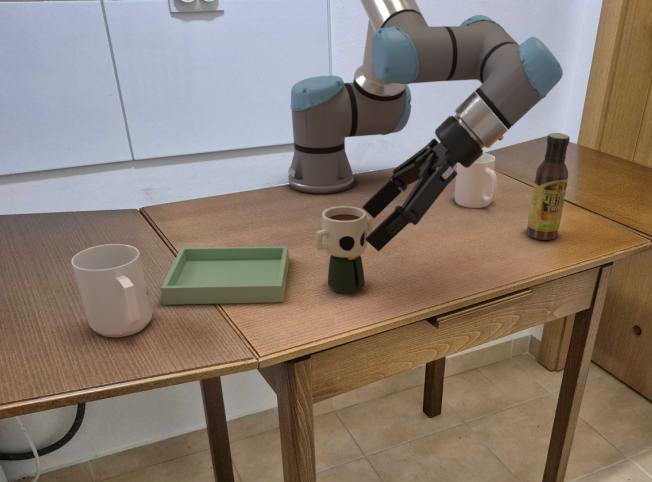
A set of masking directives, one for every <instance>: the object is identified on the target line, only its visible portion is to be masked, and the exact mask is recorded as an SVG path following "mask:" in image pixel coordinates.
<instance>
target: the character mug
mask: <svg viewBox="0 0 652 482" xmlns="http://www.w3.org/2000/svg"><path fill="white" fill-rule="evenodd" d="M321 223H322V224H321V225H322V229H320V230H317V231H316V232H315V235H314V236H315V248H316V250H317V251H318V252H319V251H324V252H325V253H327V255H330V256H329V262H328V272H327V285H328V286H329V287H330V288H331V290H332V289H333V290H334V291H335V292H340V293H353V292H356V286H358V289H359V290H362V289H363V288H364V287H365V283H366V280H365V272H364V266H363V259H362V256H361V255H363V254H364V253H365V251H366V250H367V249H368V248H367V247H368V244H369V243H368V242H367V241H366V237H367V236H368V235H369V234H370V233H371V232H372V231H373V219H372V216H368V217H367V212H366V211H365V210H364V209H363V208H360V207H356V206H351V205H338V206H332V207H329V208H326V209H324V210H323V211H322V213H321Z"/></svg>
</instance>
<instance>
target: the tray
mask: <svg viewBox="0 0 652 482" xmlns="http://www.w3.org/2000/svg"><path fill="white" fill-rule="evenodd" d="M289 266H290V250H289V245H266V246H265V245H262V246H261V245H259V246H257V245H256V246H255V245H253V246H191V247H189V246H186V247H185V246H184V247H180V249H179V252H178V253H177V255H176V256H175V258H174V261H173V263H172V265H171V266H170V269H169V271H168V273H167V275H166V276H165V279H164V280H163V282H162V284H161V286H160V293H161V297H162V300H163V301H162V302H163V305H165V306H169V305H171V306H172V305H215V304H217V305H218V304H220V305H221V304H259V303H260V304H263V303H266V304H267V303H283V302H284V298H285V291H286V286H287V279H288V272H289Z"/></svg>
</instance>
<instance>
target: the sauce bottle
mask: <svg viewBox="0 0 652 482" xmlns="http://www.w3.org/2000/svg"><path fill="white" fill-rule="evenodd" d="M570 138H571V136H570V135H568V134H565V133H562V132H551V133H548V134H547V139H546V150H545V155H544V159H543V161H542V162H541V163H540V165H539V166H538V167H537V168H536V173H535V179H534V181H533V188H532V195H531V201H530V208H529V215H528V219H527V229H526V233H527V235H528V236H529V237H531V238H533V239H536V240H540V241H550V240H553V239H556V238H557V237H558V231H559V229H560V225H561V219H562V213H563V209H564V203H565V197H566V193H567V188H568V181H569V179H568V178H569V170H568V167H567V165H566V163H565V162H566V154H567V149H568V145H569V144H570Z"/></svg>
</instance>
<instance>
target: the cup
mask: <svg viewBox="0 0 652 482" xmlns="http://www.w3.org/2000/svg"><path fill="white" fill-rule="evenodd" d="M495 167H496V156H494V155H492V154H491V153H486V152H483V155H481V156H480V157H479V158H478V159H477V160H476V161H475V162H474V163H473V164H472V165H471V166H470V167H468V168H465V167H463V166H462V165H461V164H460V163H456V167H455V168H456V169H455V171H456V172H457V176H456V177H455V185H454V202H455V203H456V204H457V205H458V206H460V207H463V208H468V209H481V208H486V207H488V206H489V205H490V204H491V203H492V202H494V201H495V199H496V197H497V194H498V193H497V191H498V177H497V174H496V172H495Z"/></svg>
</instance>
